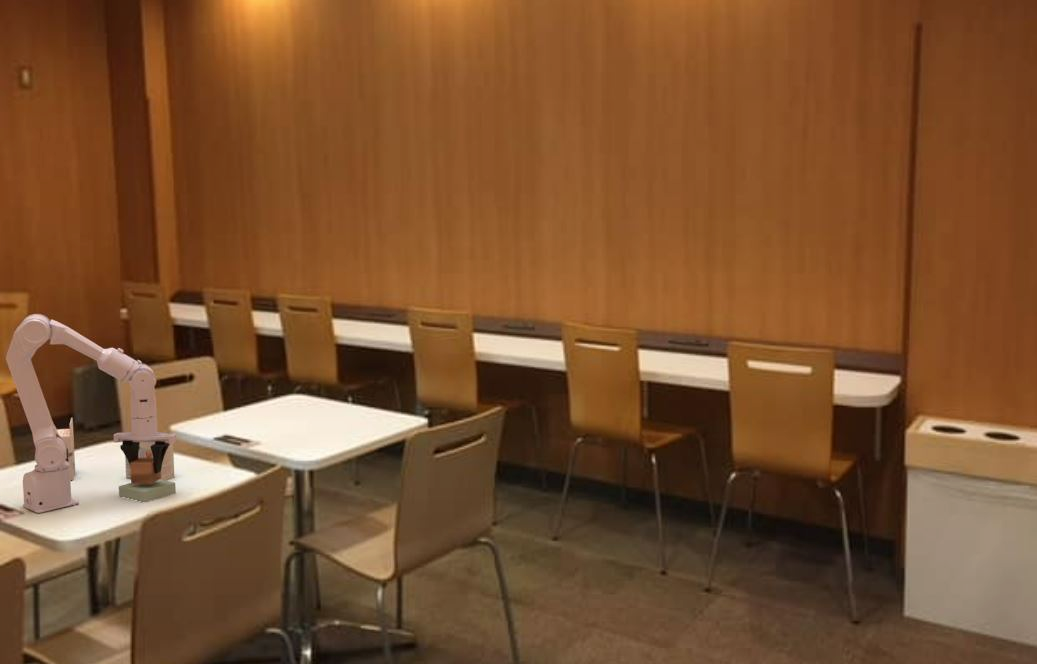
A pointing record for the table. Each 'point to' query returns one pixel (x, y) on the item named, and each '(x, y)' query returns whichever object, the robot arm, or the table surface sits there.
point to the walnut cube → (143, 471)
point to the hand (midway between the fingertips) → (146, 471)
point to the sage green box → (147, 490)
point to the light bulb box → (146, 452)
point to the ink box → (69, 447)
